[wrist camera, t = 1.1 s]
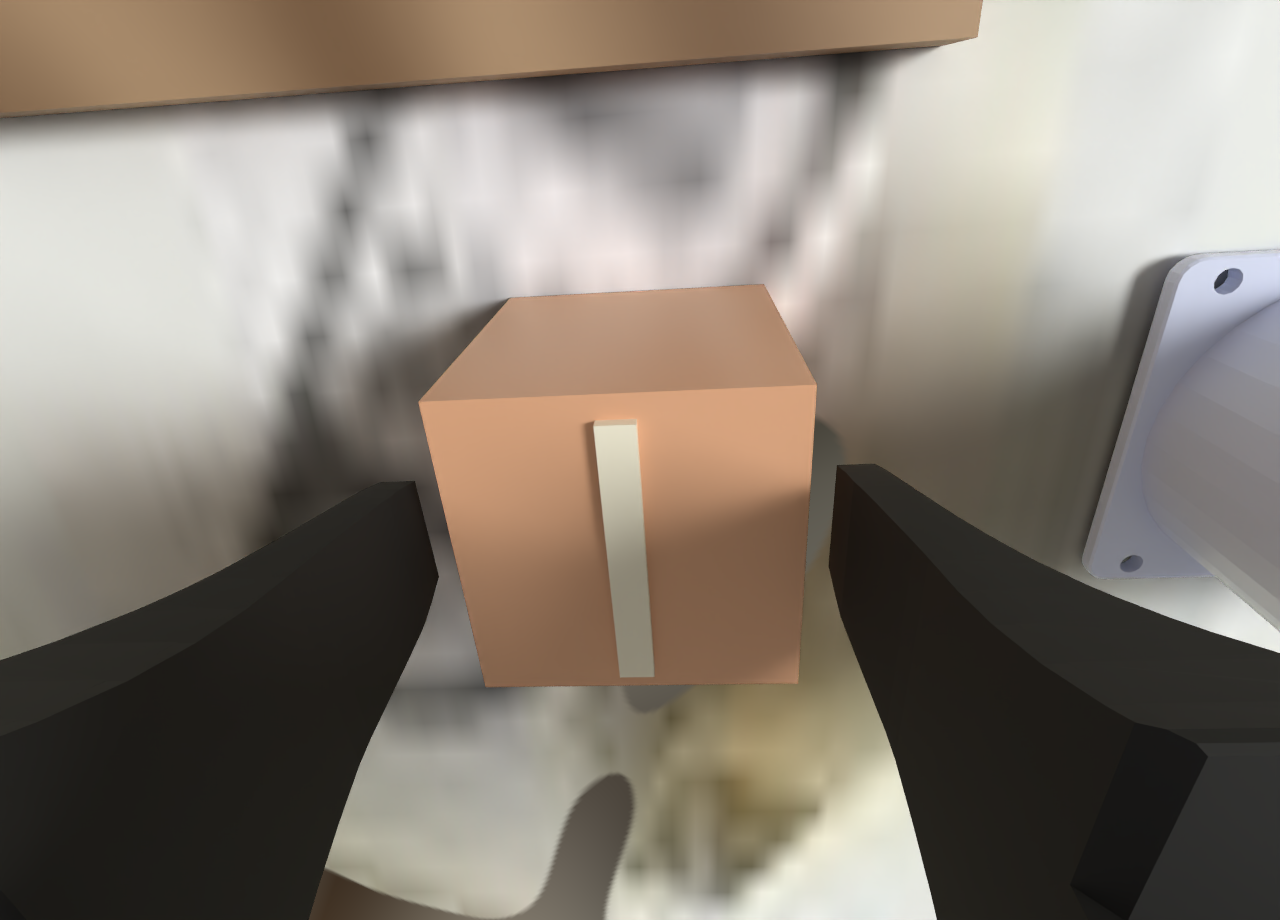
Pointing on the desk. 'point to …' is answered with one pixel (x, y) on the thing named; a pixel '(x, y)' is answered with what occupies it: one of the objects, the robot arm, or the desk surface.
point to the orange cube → (629, 488)
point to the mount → (412, 43)
